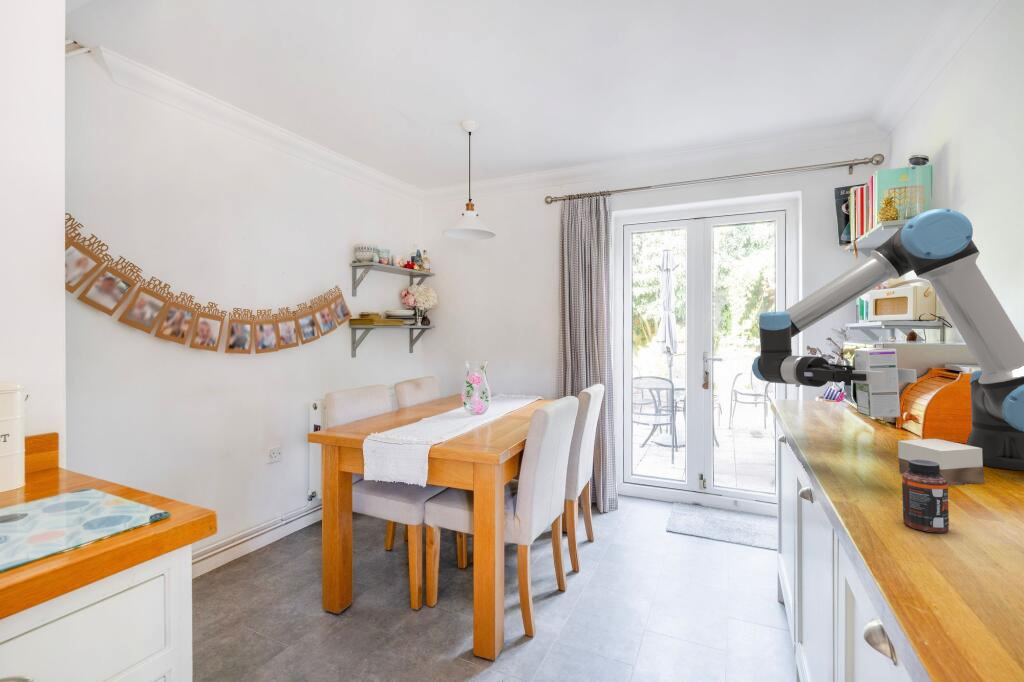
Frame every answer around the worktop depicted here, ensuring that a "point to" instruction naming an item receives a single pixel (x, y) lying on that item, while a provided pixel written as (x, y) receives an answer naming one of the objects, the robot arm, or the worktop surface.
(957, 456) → the tower top block
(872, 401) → the syrup box
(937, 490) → the supplement bottle
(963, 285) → the robot arm
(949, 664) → the worktop surface
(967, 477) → the tower base block
